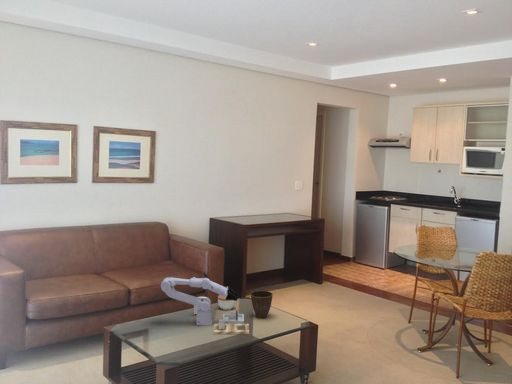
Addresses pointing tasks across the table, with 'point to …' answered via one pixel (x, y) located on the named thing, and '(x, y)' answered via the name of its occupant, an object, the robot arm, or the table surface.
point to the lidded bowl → (225, 303)
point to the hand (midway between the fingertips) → (237, 297)
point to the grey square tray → (240, 321)
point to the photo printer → (196, 307)
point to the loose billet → (233, 315)
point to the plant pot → (261, 303)
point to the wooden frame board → (231, 329)
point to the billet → (221, 324)
